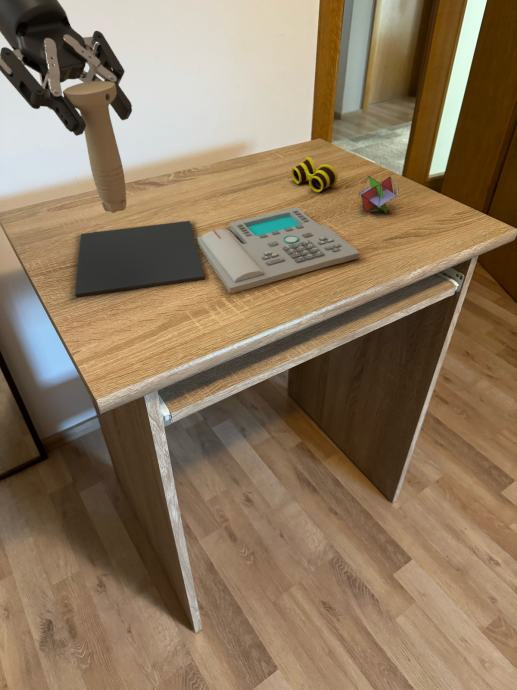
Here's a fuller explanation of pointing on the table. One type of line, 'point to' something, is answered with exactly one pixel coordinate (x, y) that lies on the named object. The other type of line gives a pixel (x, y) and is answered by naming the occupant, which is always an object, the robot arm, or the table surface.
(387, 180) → the geometric puzzle
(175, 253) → the mat
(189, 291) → the table surface
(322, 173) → the opera glasses
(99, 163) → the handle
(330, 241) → the office telephone
